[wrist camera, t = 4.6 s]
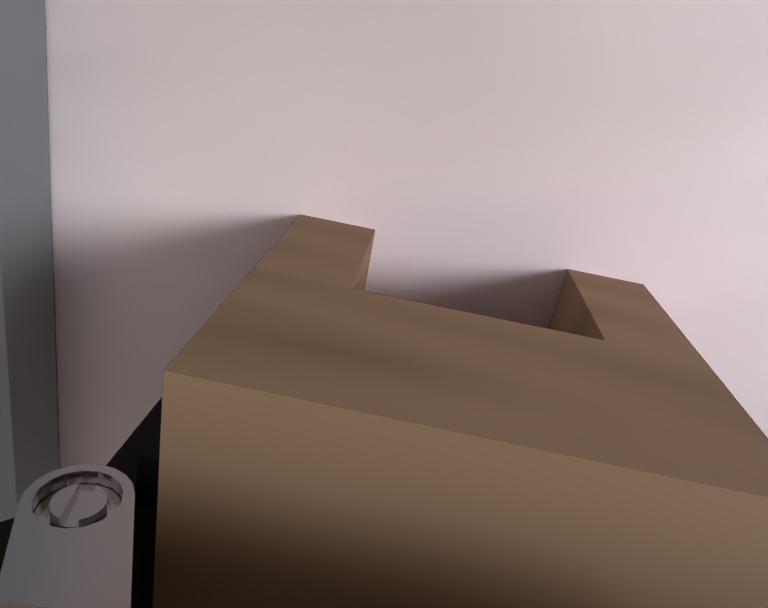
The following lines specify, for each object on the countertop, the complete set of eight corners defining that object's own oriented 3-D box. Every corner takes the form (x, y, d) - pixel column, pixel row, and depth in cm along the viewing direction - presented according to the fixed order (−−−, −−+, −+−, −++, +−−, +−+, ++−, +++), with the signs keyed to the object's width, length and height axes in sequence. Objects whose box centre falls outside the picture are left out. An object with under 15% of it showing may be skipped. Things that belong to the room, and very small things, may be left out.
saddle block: (537, 567, 14) (594, 901, 9) (262, 507, 14) (144, 800, 9) (643, 284, 11) (825, 509, 6) (300, 214, 12) (163, 370, 6)
